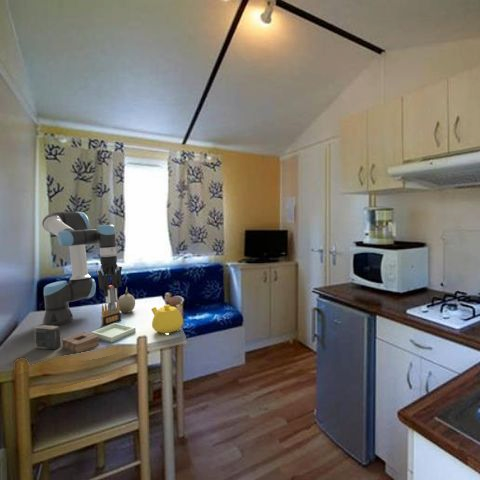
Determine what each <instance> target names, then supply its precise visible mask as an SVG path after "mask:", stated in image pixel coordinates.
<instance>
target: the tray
mask: <svg viewBox="0 0 480 480" xmlns="http://www.w3.org/2000/svg"><path fill="white" fill-rule="evenodd" d="M136 332H137V331H136V327H135V326H130V325H125V324H122V323H119V322H115V323H112V324H109V325H106V326H102V327H100V328H98V329H96V330H93V331H91V333H90V334H92V335H96V336H98V340H102V341H105V342H109V343H114V342H117V341H119V340H122V339H123V338H125V337H126V338H127V336H131V335H133V334H134V333H135V334H136Z"/></svg>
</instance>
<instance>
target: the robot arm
mask: <svg viewBox="0 0 480 480" xmlns="http://www.w3.org/2000/svg"><path fill="white" fill-rule="evenodd" d="M41 223H42V225H41V226H42V228H43V229H44V230H45V231H46V232H48V233H51V234H53V235H55V236H56V237H57V242H58V245H59V246H60V247H68V249H69V257H70V266H71V277H69V282H67V280H61V281H60V280H59V281H55V282H51V283H48V284H45V286H44V287H43V298H44V310H45V312H44V316H43V318H42V319H43V320H42V325H47V326H58V327H60V326H64V325H66V324H69V323H71V322H72V321H74V315H73V313H72V311H71V309H70V306H69V305H70V304H69V303H72V302H77V301H82V300H87V299H90V298H93V297H94V295H95V294H96V287H97V286H96V285H97V284H96V281H95V279H94V278H93V277H92V276H91V275H90V274H89V269H88V261H87V252H86V251H87V250H86V245H95V244H98V246H99V255H100V257H99V261H100V268H99V269H97V270H96V271H95V274H96V275H97V281H98V286H99V290H102V291H103V296H104V297H105V304H106V303H107V304H108V303H111V301H110V290H108V286H109V284H110V279H111V282H112V284H111V285H114V291H115V302H117V301H118V294H119V289H118V288H119V287H120V286H122V269H123V266H119V265H118V264H117V262H118V257H117V246H116V245H117V244H116V230H115V225H113V224H100V225H99V224H98V226H97V228H94V229H93V228H91V229H90V225H91V224H90V219H89V218H88V215H87V214H86V213H85V212H83V211H54V212H51V213H49V214H47V215H45V216H44V218H43V220H42V221H41Z"/></svg>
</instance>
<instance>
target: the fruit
mask: <svg viewBox="0 0 480 480" xmlns="http://www.w3.org/2000/svg"><path fill="white" fill-rule="evenodd" d="M117 301H118V303H119V310H120V313H123V314H127V313H131V312H132V311H134V309H135V306H136V300H135V297H134V296H133V295H132V294H131V293H129V291H128V287H126V289H125V293H124V294H123V295H122V294H121V295H120V296H119V297H118V298H117Z"/></svg>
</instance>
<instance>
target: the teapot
mask: <svg viewBox="0 0 480 480" xmlns="http://www.w3.org/2000/svg"><path fill="white" fill-rule="evenodd" d="M151 312H152V314H153V319H152V322H151V327H152V329H153V330H154V331H155V332H160V333H159V334H161V333H163V334H165V333H169V332H170V333H172V332H173V333H174V332H177V331H176V330H180V331H181V328H182V326H183V325H184V319H183V316H182V314H181V312H180V311H179V310H178V308H177V307H176V306H171V305H170V304H165V305H163V306H162V307H159V308H158V309H157V307H153V308H151Z"/></svg>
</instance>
